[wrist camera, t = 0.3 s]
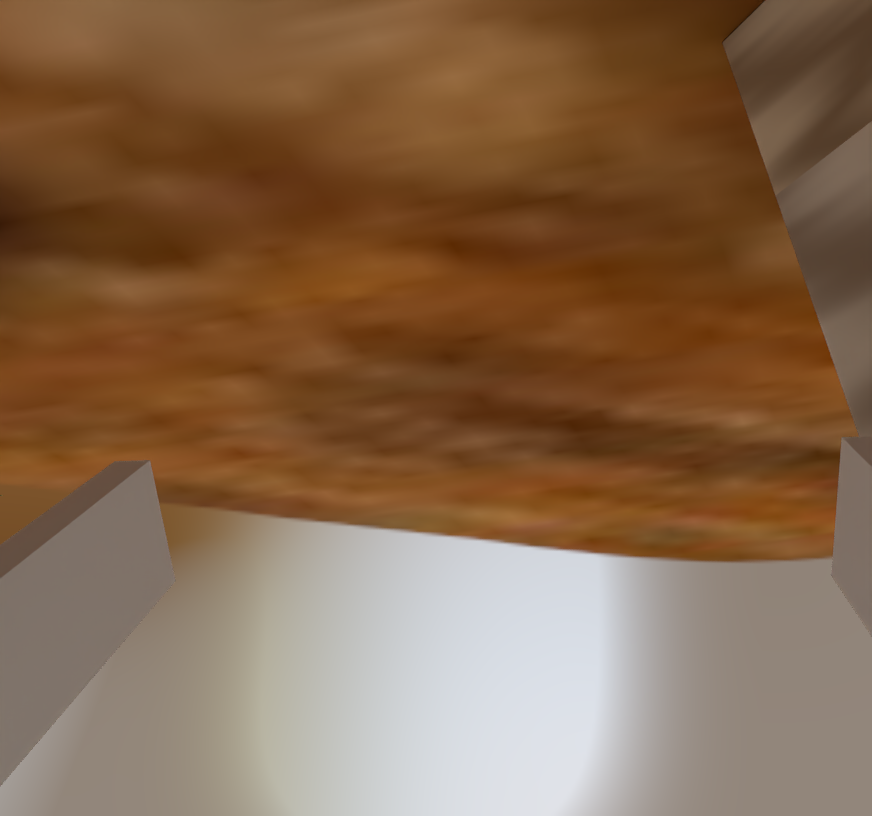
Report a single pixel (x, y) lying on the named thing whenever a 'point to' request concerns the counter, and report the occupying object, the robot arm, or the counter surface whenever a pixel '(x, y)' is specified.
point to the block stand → (819, 160)
